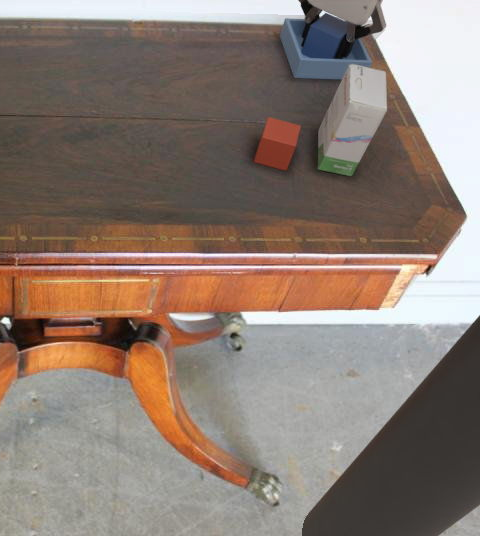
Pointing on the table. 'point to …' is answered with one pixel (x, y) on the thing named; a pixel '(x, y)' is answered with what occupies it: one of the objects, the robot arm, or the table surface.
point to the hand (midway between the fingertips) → (323, 49)
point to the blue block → (325, 37)
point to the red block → (277, 143)
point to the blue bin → (317, 66)
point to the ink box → (352, 119)
